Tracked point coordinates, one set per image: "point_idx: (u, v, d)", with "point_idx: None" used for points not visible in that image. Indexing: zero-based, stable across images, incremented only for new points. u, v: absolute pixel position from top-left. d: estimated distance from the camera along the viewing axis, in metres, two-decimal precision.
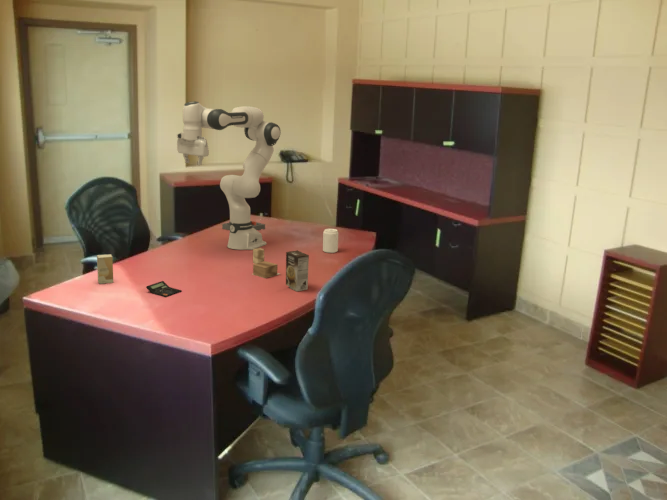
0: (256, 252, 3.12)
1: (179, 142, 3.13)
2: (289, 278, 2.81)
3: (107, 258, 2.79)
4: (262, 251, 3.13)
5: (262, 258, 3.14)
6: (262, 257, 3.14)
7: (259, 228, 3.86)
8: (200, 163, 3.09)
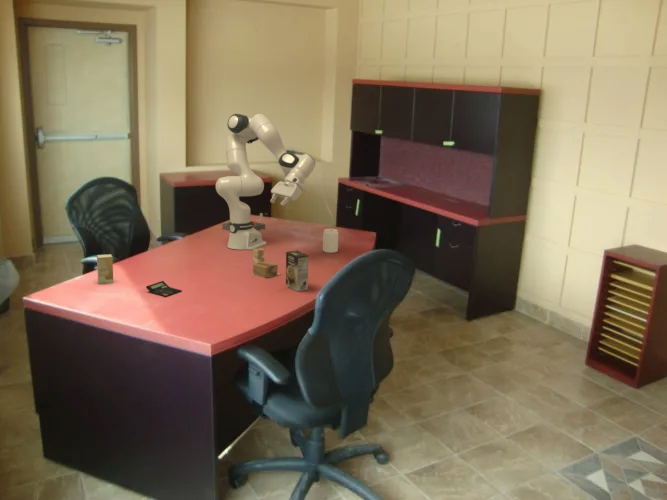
0: (256, 252, 3.12)
1: None
2: (289, 278, 2.81)
3: (107, 258, 2.79)
4: (262, 251, 3.13)
5: (262, 258, 3.14)
6: (262, 257, 3.14)
7: (259, 228, 3.86)
8: None
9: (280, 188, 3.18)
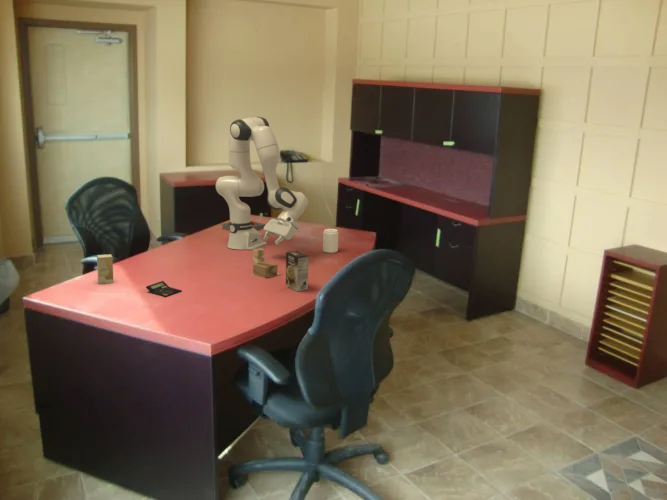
0: (256, 252, 3.12)
1: None
2: (289, 278, 2.81)
3: (107, 258, 2.79)
4: (262, 251, 3.13)
5: (262, 258, 3.14)
6: (262, 257, 3.14)
7: (259, 228, 3.86)
8: None
9: (273, 226, 3.21)
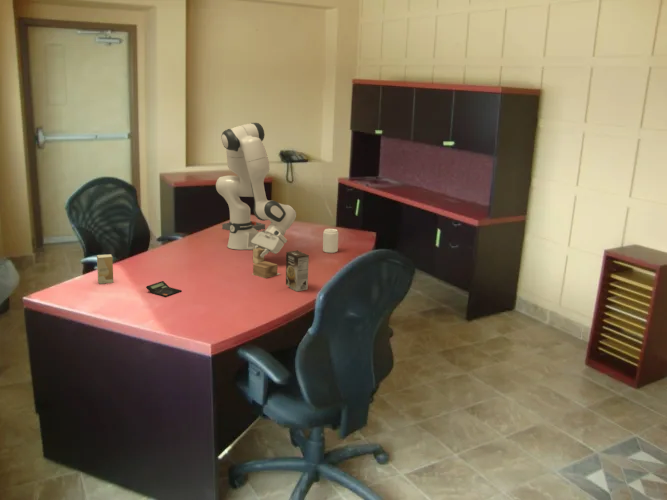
0: (256, 252, 3.12)
1: None
2: (289, 278, 2.81)
3: (107, 258, 2.79)
4: (262, 251, 3.13)
5: None
6: None
7: (259, 228, 3.86)
8: None
9: (261, 239, 3.18)
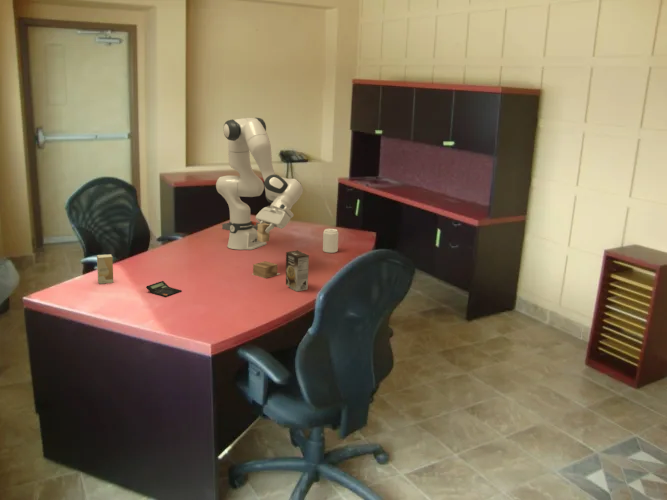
0: (261, 227, 2.95)
1: None
2: (289, 278, 2.81)
3: (107, 258, 2.79)
4: (267, 226, 2.96)
5: (267, 233, 2.97)
6: (267, 233, 2.97)
7: None
8: None
9: (266, 214, 3.00)
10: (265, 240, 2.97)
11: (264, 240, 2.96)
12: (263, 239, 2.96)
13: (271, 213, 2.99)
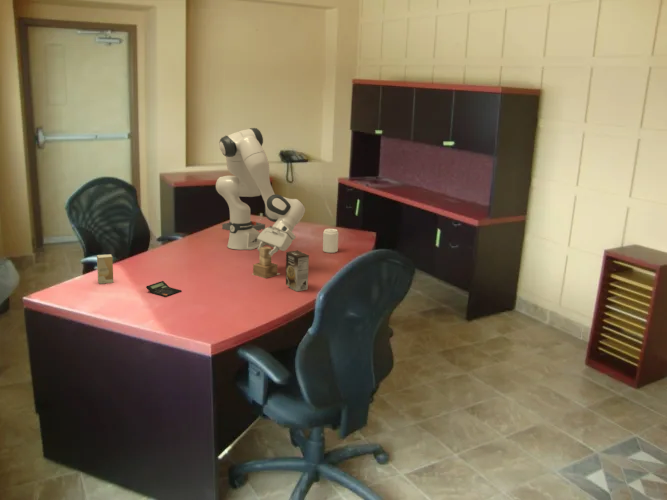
0: (263, 251, 2.93)
1: None
2: (289, 278, 2.81)
3: (107, 258, 2.79)
4: (269, 250, 2.94)
5: (269, 257, 2.95)
6: (269, 256, 2.95)
7: (259, 228, 3.86)
8: None
9: (268, 236, 2.98)
10: (267, 264, 2.95)
11: (266, 264, 2.94)
12: (265, 263, 2.94)
13: (273, 234, 2.97)
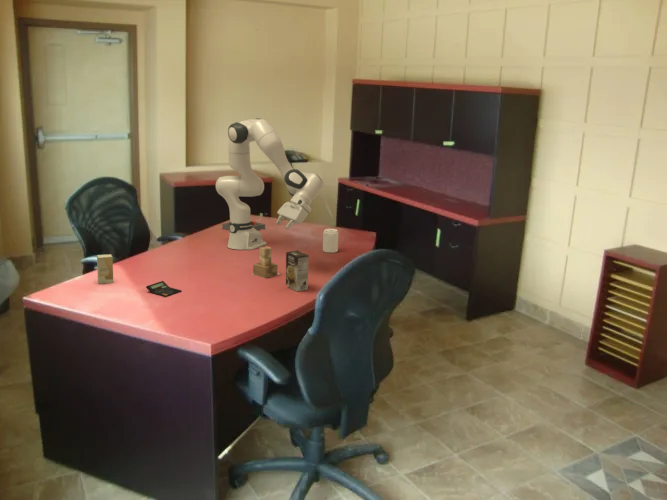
0: (263, 251, 2.93)
1: None
2: (289, 278, 2.81)
3: (107, 258, 2.79)
4: (269, 250, 2.94)
5: (269, 257, 2.95)
6: (269, 256, 2.95)
7: (259, 228, 3.86)
8: None
9: (286, 210, 3.04)
10: (267, 264, 2.95)
11: (266, 264, 2.94)
12: (265, 263, 2.94)
13: (291, 208, 3.02)
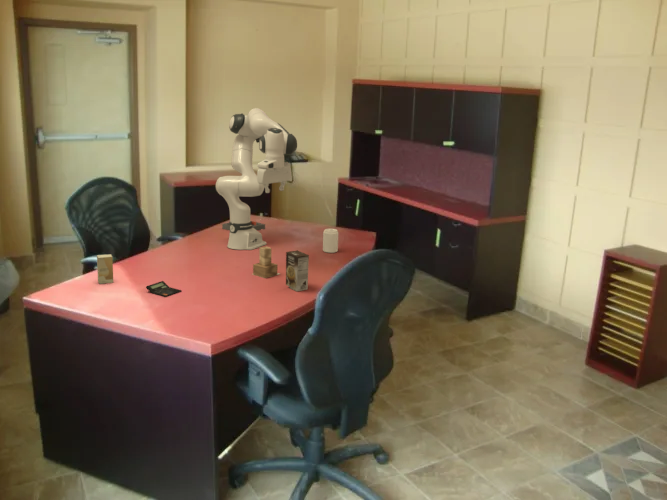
0: (263, 251, 2.93)
1: (266, 173, 2.97)
2: (289, 278, 2.81)
3: (107, 258, 2.79)
4: (269, 250, 2.94)
5: (269, 257, 2.95)
6: (269, 256, 2.95)
7: (259, 228, 3.86)
8: None
9: None
10: (267, 264, 2.95)
11: (266, 264, 2.94)
12: (265, 263, 2.94)
13: None
